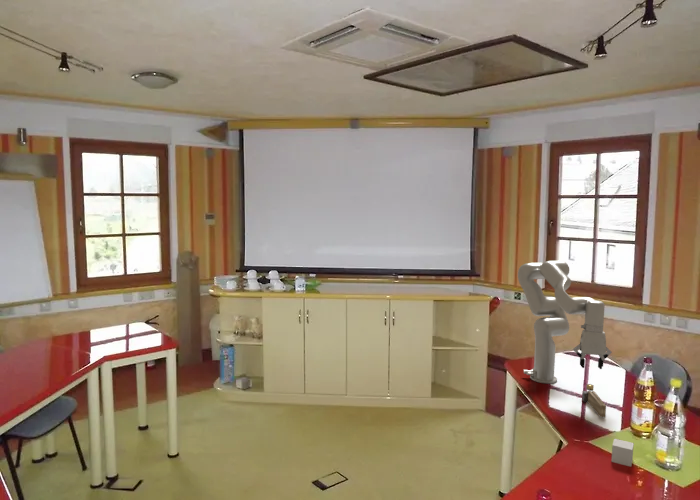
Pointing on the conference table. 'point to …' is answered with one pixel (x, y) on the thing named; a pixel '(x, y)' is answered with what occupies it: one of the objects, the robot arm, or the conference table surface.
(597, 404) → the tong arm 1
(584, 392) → the tong hinge
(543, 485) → the conference table surface
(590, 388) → the lock button
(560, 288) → the robot arm
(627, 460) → the grey cube
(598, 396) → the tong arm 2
